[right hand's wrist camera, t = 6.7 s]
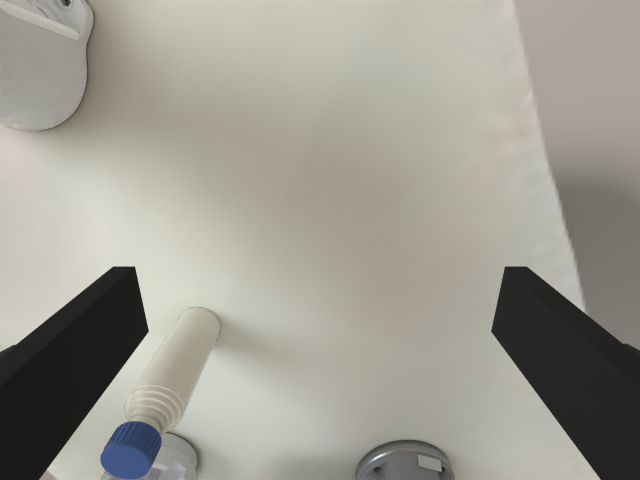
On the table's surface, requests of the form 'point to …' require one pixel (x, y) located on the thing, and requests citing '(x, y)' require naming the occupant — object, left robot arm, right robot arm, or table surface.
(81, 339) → the right robot arm
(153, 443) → the cap
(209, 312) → the bottle
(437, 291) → the table surface
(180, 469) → the flag stand
